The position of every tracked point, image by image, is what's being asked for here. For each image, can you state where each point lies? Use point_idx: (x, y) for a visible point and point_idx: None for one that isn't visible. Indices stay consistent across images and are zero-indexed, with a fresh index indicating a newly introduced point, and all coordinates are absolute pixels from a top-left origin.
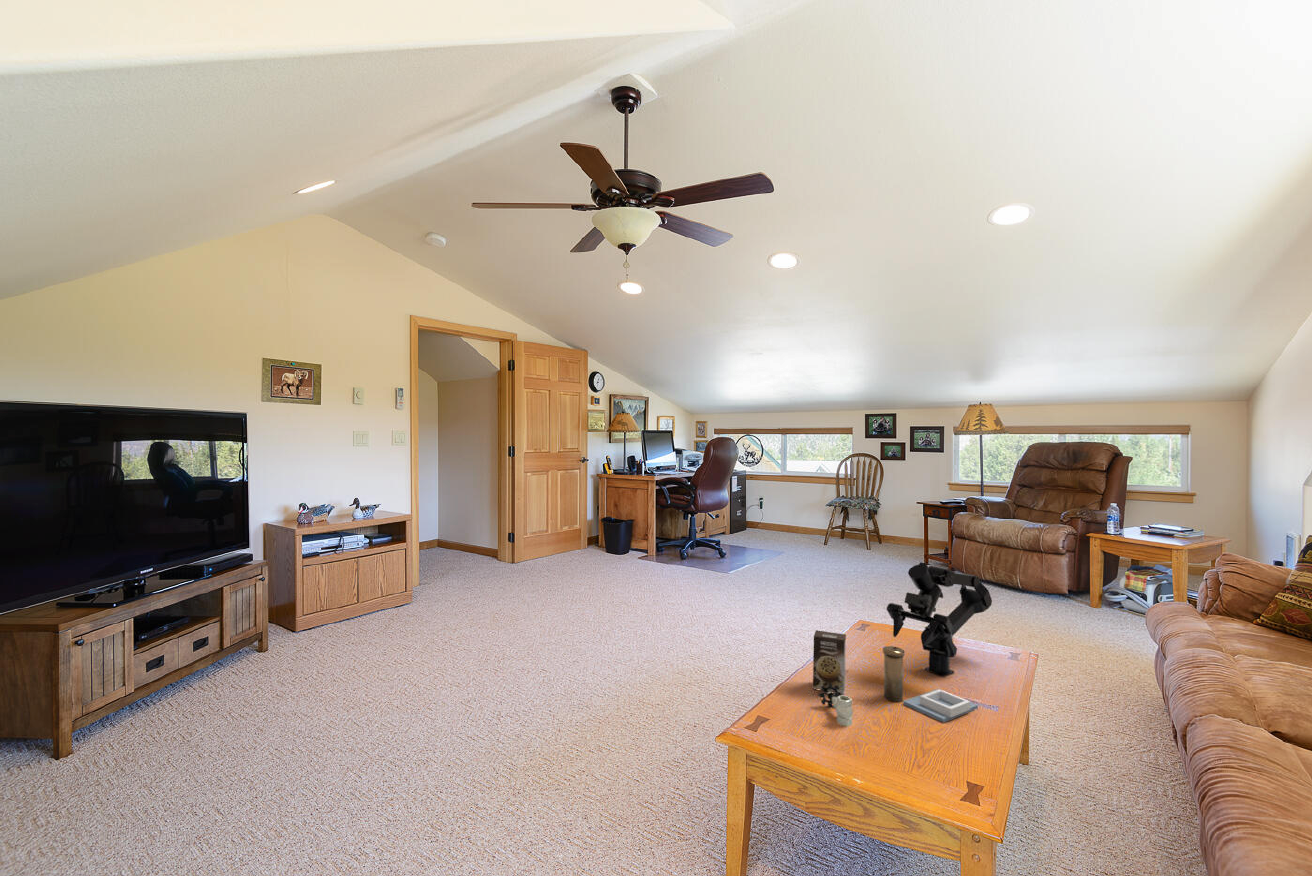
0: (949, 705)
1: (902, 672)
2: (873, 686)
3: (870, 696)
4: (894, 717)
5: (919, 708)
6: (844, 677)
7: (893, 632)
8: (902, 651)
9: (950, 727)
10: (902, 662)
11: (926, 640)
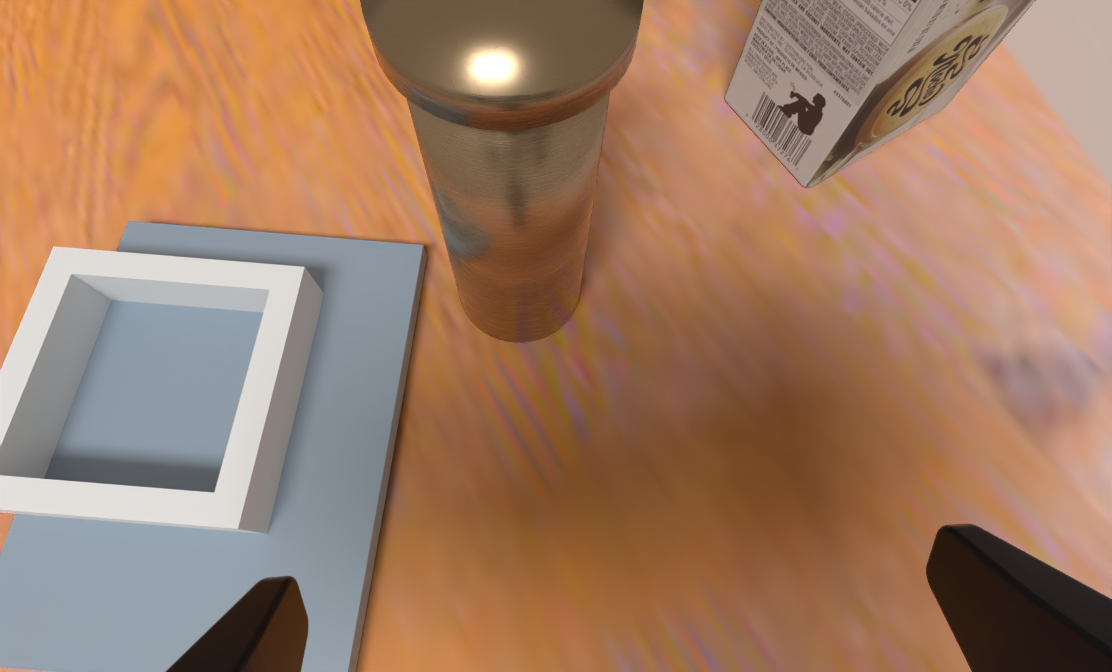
0: (154, 442)
1: (429, 182)
2: (717, 341)
3: (622, 197)
4: (380, 88)
5: (302, 237)
6: (779, 50)
7: (1021, 554)
8: (391, 18)
9: (93, 214)
10: (410, 111)
11: (192, 652)
